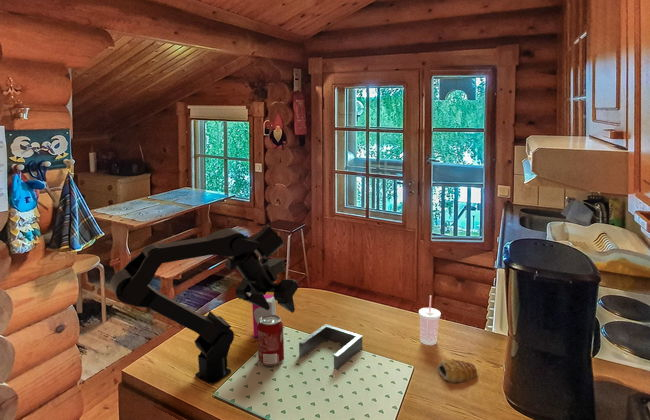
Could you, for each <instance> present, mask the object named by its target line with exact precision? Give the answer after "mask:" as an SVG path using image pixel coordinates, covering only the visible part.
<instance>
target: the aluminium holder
mask: <svg viewBox="0 0 650 420" xmlns="http://www.w3.org/2000/svg"><path fill="white" fill-rule="evenodd" d="M326 340H328V341H330V342H334V343H336V344H339V345H343V346H342V348H340V349H339V350H338V351H337V352H336V353H334V354H333V370H335V369H336V371H339V370H340V369H341V368H342V367H344V365H346V364H347V363H348V362H349V361H350V360H351V359H353V357H354V356H356V355H357V354H358V353H359V352H360V351H362V350H363V335H361V334H358V333H355V332H352V331H349V330H346V329H343V328H339V327H337V326H334V325H330V324H327V323H325V324H323V325H322V326H320V327H318V329H316V330H314V331H313V332H312V333H310V334H309V335H308V336H306V337H305V338H304V339H302V340H299V342H298V350H299V351H298V354H299V357H301V356H304V357H305V356H306V355H307V354H309V353H311V352H312V351H313V350H314V349H316V348H317V347H319V346H320V345H321V344H322V343H324V342H325V341H326ZM315 347H316V348H315ZM311 350H312V351H311Z"/></svg>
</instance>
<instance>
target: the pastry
mask: <svg viewBox="0 0 650 420" xmlns="http://www.w3.org/2000/svg"><path fill="white" fill-rule="evenodd" d="M436 368H437V370H438V373H439V375H440V376H441V377H442V378H443V379H444V380H445V381H446V382H450V383H454V384H455V383H462V382H466V381H468V380H472V379H474V378H475V377H476V376H477V374H478V371H477V368H476V366H475V364H473V363H471V362H469V361H465V360H460V359H455V358H454V359H453V358H451V359H444V360H443V361H440V362H439V364H437V367H436Z"/></svg>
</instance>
